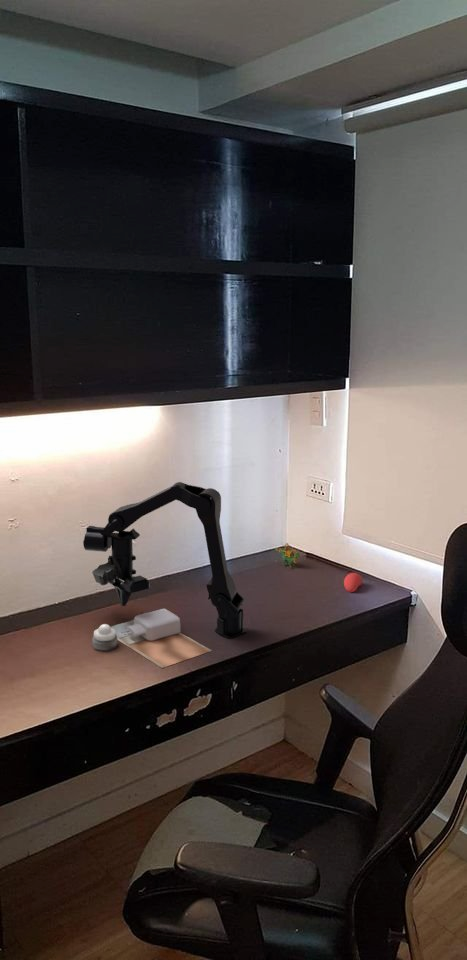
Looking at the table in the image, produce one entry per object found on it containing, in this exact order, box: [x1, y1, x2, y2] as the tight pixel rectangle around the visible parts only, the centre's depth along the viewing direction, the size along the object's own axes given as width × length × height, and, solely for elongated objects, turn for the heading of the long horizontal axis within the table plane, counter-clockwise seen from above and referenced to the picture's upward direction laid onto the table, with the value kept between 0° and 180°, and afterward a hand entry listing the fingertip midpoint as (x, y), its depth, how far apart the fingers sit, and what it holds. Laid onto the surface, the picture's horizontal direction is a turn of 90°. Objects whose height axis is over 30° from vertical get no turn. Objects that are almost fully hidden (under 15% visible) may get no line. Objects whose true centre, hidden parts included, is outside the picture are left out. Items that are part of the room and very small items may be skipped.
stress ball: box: [343, 572, 363, 593], centre depth 239 cm, size 5×9×6 cm, turn 142°
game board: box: [92, 619, 213, 669], centre depth 197 cm, size 23×29×2 cm
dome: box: [93, 623, 116, 641], centre depth 195 cm, size 6×6×3 cm
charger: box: [121, 608, 181, 641], centre depth 202 cm, size 5×9×15 cm
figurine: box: [274, 543, 301, 570], centre depth 258 cm, size 3×12×8 cm, turn 42°
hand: (123, 605), depth 210 cm, fingers closed
